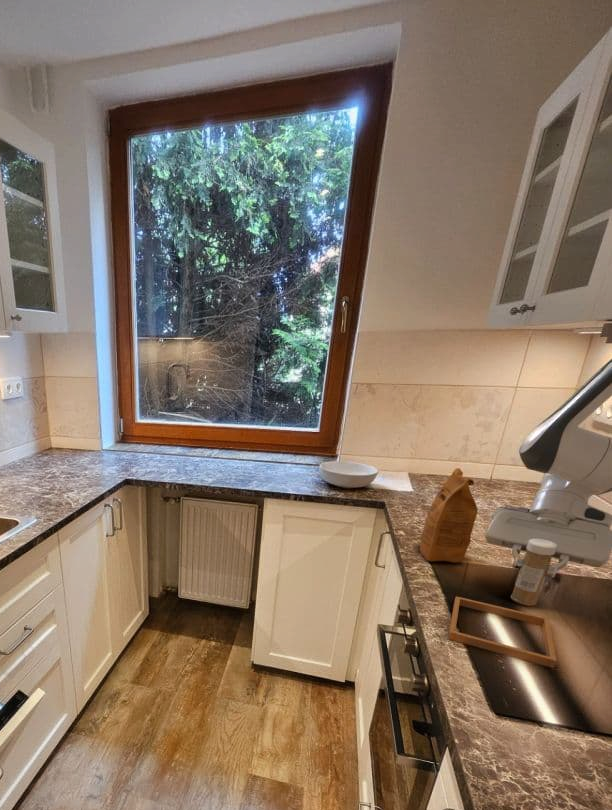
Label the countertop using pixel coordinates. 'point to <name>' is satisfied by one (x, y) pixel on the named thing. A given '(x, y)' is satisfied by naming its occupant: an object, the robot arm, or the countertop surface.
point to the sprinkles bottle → (533, 571)
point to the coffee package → (450, 521)
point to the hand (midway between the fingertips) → (533, 571)
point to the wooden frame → (501, 648)
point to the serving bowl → (347, 474)
